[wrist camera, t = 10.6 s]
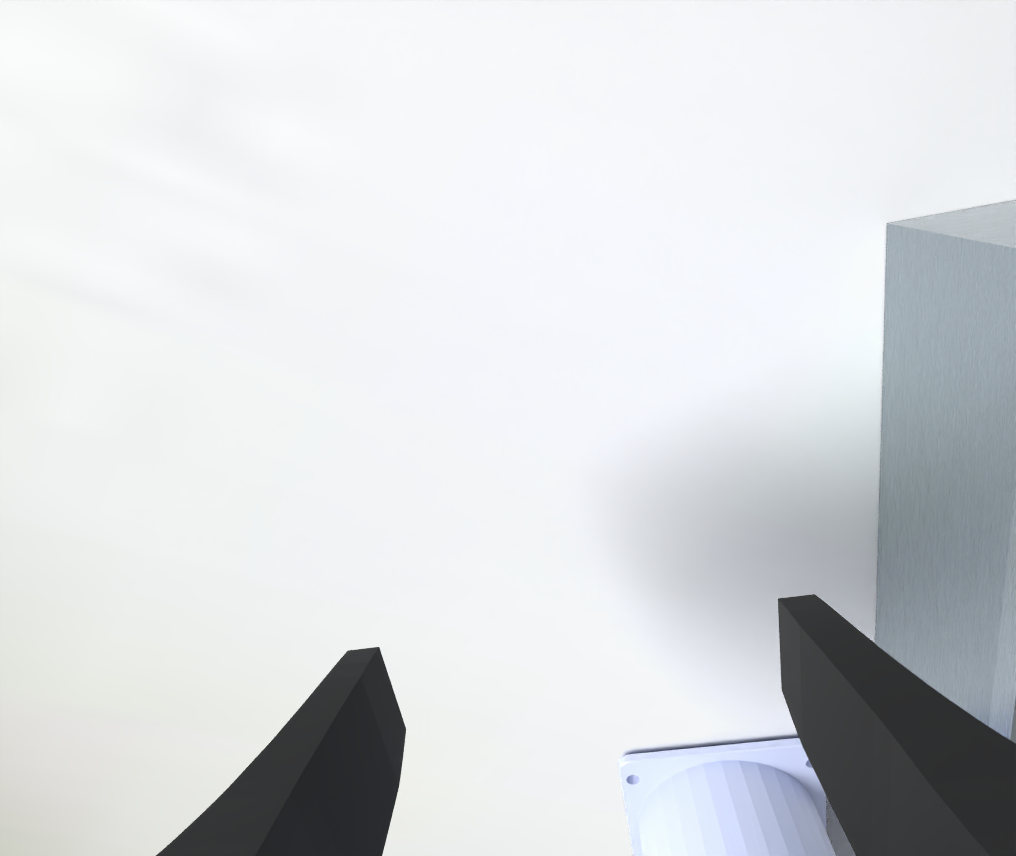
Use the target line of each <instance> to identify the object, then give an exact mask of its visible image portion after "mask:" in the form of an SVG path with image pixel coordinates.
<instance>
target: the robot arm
mask: <svg viewBox="0 0 1016 856" xmlns="http://www.w3.org/2000/svg"><path fill="white" fill-rule="evenodd" d="M778 609H779V634H780V658H781V683H782V692H783V694H784V697H785V700H786V703H787V706H788V708H789V711H790V714H791V717H792V720H793V723H794V725H795V728H796V731H797V733H798V736H799V738H792V739H781V740H771V741H761V742H751V743H740V744H730V745H720V746H709V747H699V748H689V749H678V750H668V751H658V752H648V753H637V754H628V755H624V756H623V757H621V758H620V759H619V761H618V769H619V775H620V781H621V787H622V793H623V799H624V805H625V810H626V816H627V822H628V828H629V834H630V840H631V845H632V851H633V856H836V854H835V851H834V849H833V847H832V844H831V842H830V840H829V837H828V835H827V832H826V796H827V798H828V800H829V802H830V804H831V806H832V808H833V810H834V812H835V814H836V816H837V818H838V820H839V822H840V824H841V826H842V828H843V830H844V832H845V834H846V836H847V838H848V840H849V842H850V844H851V846H852V848H853V850H854V852H855V854H856V856H1016V743H1014V742H1013V741H1011V740H1009V739H1008V738H1006V737H1004V736H1003V735H1001V734H1000V733H998V732H996V731H995V730H993V729H992V728H990V727H989V726H987V725H986V724H984V723H983V722H981V721H979V720H978V719H977V718H975V717H974V716H972V715H971V714H969V713H968V712H966V711H965V710H963V709H962V708H961V707H959V706H958V705H956V704H955V703H953V702H952V701H950V700H949V699H948V698H946V697H945V696H943V695H942V694H941V693H939V692H938V691H936V690H935V689H934V688H932V687H931V686H930V685H928V684H927V683H926V682H924V681H923V680H922V679H920V678H919V677H918V676H916V675H915V674H914V673H912V672H911V671H910V670H908V669H907V668H906V667H904V666H903V665H902V664H900V663H899V662H898V661H897V660H895V659H894V658H893V657H891V656H890V655H889V654H888V653H886V652H885V651H884V650H882V649H881V648H880V647H879V646H877V645H876V644H875V643H874V642H872V641H871V640H870V639H869V638H868V637H866V636H865V635H864V634H863V633H861V632H860V631H859V630H858V629H856V628H855V627H854V626H853V625H852V624H850V623H849V622H848V621H847V620H846V619H844V618H843V617H842V616H841V615H840V614H838V613H837V612H836V611H835V610H834V609H832V608H831V607H830V606H829V605H828V604H826V603H825V602H824V601H823V600H821V599H820V598H819V597H817V596H816V595H815V594H813V595H805V596H797V597H788V598H780V599H778ZM405 734H406V728H405V725H404V722H403V718H402V715H401V712H400V709H399V706H398V703H397V700H396V697H395V694H394V691H393V688H392V685H391V682H390V679H389V676H388V673H387V670H386V667H385V664H384V661H383V657H382V654H381V651H380V648H379V647H375V648H367V649H359V650H350V651H347V652H346V654H345V655H344V656H343V657H342V658H341V659H340V660H339V662H338V663H337V664H336V665H335V666H334V667H333V669H332V670H331V671H330V672H329V674H328V675H327V676H326V677H325V678H324V680H323V681H322V682H321V683H320V684H319V686H318V687H317V688H316V689H315V690H314V692H313V693H312V694H311V695H310V696H309V698H308V699H307V700H306V701H305V703H304V704H303V705H302V706H301V707H300V708H299V710H298V711H297V712H296V713H295V714H294V715H293V717H292V718H291V719H290V720H289V721H288V722H287V724H286V725H285V726H284V727H283V728H282V729H281V731H280V732H279V733H278V734H277V735H276V737H275V738H274V739H273V740H272V741H271V742H270V743H269V744H268V745H267V746H266V748H265V749H264V750H263V751H262V752H261V753H260V754H259V755H258V756H257V757H256V758H255V759H254V761H253V762H252V763H251V764H250V765H249V766H248V767H247V768H246V769H245V770H244V771H243V772H242V774H241V775H240V776H239V777H238V778H237V779H236V780H235V781H234V782H233V783H232V784H231V785H230V786H229V788H228V789H227V790H226V791H225V792H224V793H223V794H222V795H221V796H220V797H219V798H218V799H217V800H216V801H215V802H214V803H213V804H212V805H211V806H210V807H209V808H207V809H206V810H205V811H204V812H203V813H202V814H201V815H200V816H199V817H198V818H197V819H196V820H195V821H194V822H193V823H192V824H191V825H190V826H188V827H187V828H186V829H185V830H184V831H183V832H182V833H181V834H180V835H179V836H178V837H177V838H176V839H175V840H173V841H172V842H171V843H170V844H169V845H168V846H167V847H166V848H164V849H163V850H162V851H161V852H160V853H159V854H157V855H156V856H382V854H383V850H384V846H385V842H386V838H387V834H388V830H389V825H390V821H391V817H392V813H393V809H394V805H395V801H396V797H397V792H398V788H399V782H400V775H401V768H402V760H403V752H404V743H405ZM631 775H634V776H631Z"/></svg>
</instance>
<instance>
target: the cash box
mask: <svg viewBox="0 0 1016 856" xmlns="http://www.w3.org/2000/svg"><path fill="white" fill-rule="evenodd" d="M875 644H876V645H877V646H879V647H880V648H881V649H882V650H884V651H885V652H886V653H888V654H889V655H890V656H891V657H893V658H894V659H895V660H897V661H898V662H899V663H900V664H902V665H903V666H904V667H906V668H907V669H908V670H910V671H911V672H912V673H914V674H915V675H916V676H918V677H919V678H920V679H922V680H923V681H924V682H926V683H927V684H928V685H930V686H931V687H932V688H934V689H935V690H936V691H938V692H939V693H941V694H942V695H943V696H945V697H946V698H948V699H949V700H950V701H952V702H953V703H955V704H956V705H958V706H959V707H961V708H962V709H963V710H965V711H966V712H968V713H969V714H971V715H972V716H974V717H975V718H977V719H978V720H979V721H981V722H983V723H984V724H986V725H987V726H989V727H990V728H992V729H993V730H995V731H996V732H998V733H1000V734H1001V735H1003V736H1004V737H1006V738H1008V739H1009V740H1011V741H1013V742H1014V743H1016V200H1013V201H1008V202H1002V203H997V204H991V205H985V206H980V207H974V208H969V209H963V210H958V211H952V212H947V213H941V214H936V215H930V216H925V217H919V218H914V219H908V220H903V221H897V222H891V223H887V240H886V277H885V313H884V350H883V386H882V423H881V459H880V496H879V533H878V569H877V606H876V642H875Z"/></svg>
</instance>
